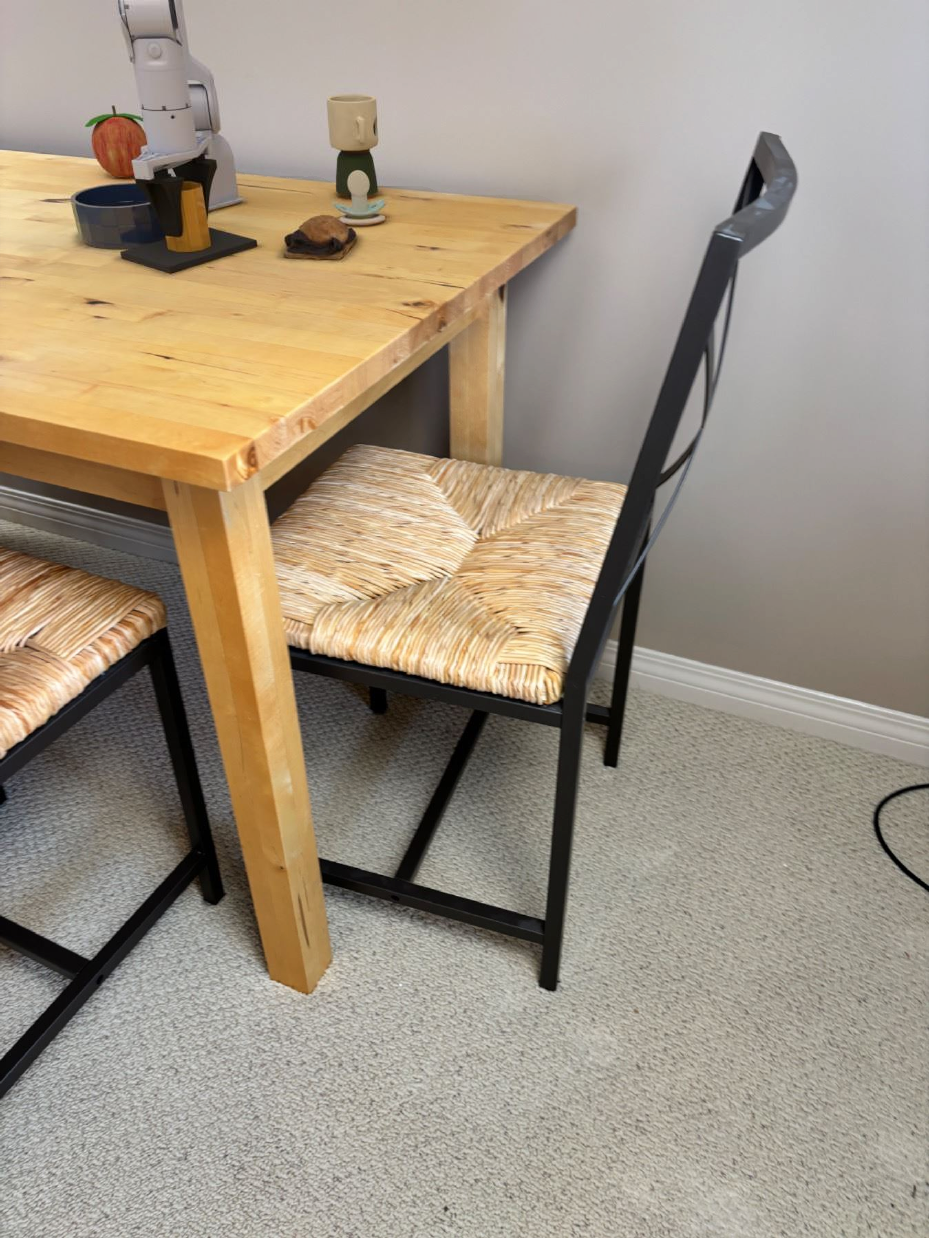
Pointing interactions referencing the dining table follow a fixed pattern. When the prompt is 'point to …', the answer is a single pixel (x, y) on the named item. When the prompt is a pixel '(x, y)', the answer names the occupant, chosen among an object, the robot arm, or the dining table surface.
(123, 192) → the pot
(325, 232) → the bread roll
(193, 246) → the cup
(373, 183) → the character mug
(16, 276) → the dining table surface
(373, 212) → the pacifier
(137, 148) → the fruit
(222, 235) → the pot holder
